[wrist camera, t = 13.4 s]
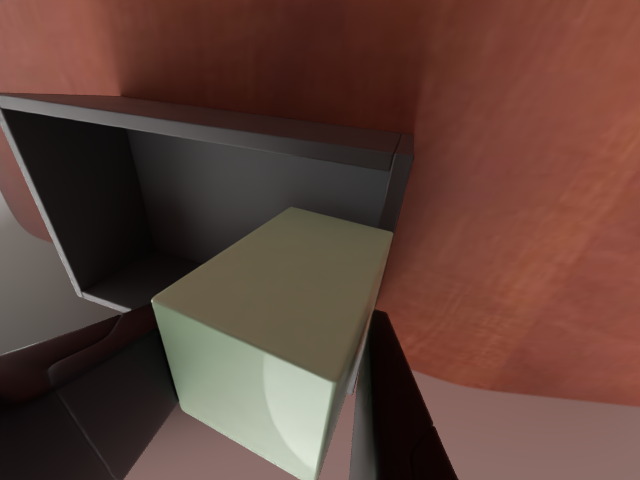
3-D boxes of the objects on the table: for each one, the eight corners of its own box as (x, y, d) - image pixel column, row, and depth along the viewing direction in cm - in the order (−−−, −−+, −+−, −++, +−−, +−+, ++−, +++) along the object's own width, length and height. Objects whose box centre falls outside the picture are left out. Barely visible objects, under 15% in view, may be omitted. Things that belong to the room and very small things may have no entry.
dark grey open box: (414, 134, 13) (414, 155, 8) (369, 312, 19) (352, 396, 14) (118, 96, 18) (-16, 92, 12) (156, 251, 23) (77, 296, 18)
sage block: (394, 231, 9) (336, 382, 4) (371, 316, 11) (314, 489, 6) (290, 205, 10) (148, 297, 5) (286, 286, 12) (180, 410, 7)
